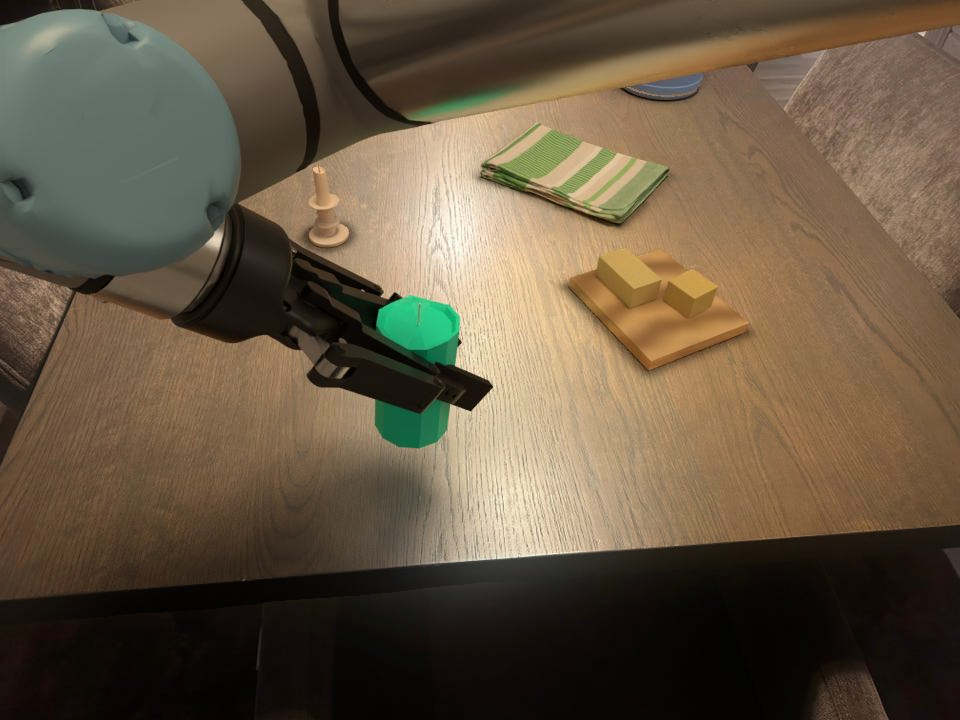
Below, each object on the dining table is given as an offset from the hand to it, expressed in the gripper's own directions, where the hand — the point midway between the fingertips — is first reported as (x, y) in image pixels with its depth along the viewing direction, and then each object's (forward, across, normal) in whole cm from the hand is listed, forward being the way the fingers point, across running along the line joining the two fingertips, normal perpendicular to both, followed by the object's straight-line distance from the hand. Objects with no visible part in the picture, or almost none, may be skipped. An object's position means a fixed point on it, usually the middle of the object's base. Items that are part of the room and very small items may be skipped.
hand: (463, 372), depth 54 cm
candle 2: (+10, -42, -9) cm, 44 cm away
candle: (-1, 0, -6) cm, 6 cm away
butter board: (+31, -11, +12) cm, 35 cm away
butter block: (+29, -14, +12) cm, 34 cm away
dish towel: (+37, -41, +18) cm, 58 cm away
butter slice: (+32, -9, +15) cm, 37 cm away
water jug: (+60, -63, +41) cm, 97 cm away
